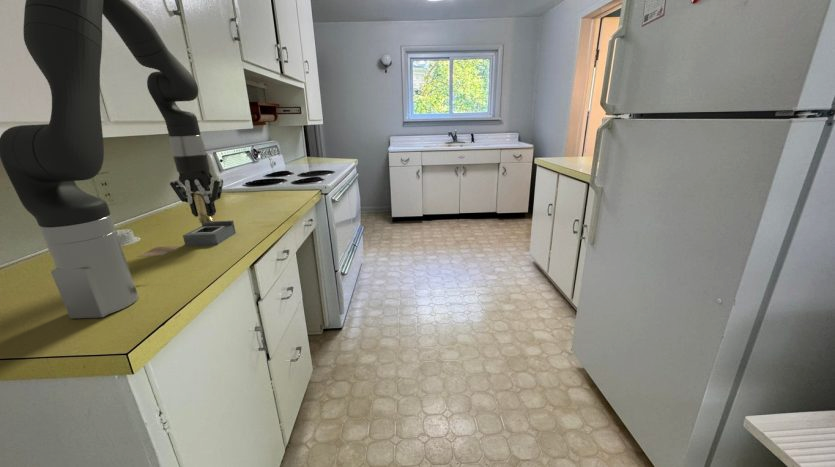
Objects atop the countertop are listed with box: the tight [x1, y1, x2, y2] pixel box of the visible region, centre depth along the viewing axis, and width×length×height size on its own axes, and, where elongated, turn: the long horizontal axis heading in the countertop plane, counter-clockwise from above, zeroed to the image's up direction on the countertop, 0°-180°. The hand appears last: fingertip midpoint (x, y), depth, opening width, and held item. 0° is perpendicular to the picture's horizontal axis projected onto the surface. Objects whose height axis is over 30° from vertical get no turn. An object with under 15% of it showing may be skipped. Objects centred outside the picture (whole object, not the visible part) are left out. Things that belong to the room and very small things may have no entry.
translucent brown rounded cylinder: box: [193, 192, 214, 224], centre depth 95 cm, size 3×3×8 cm
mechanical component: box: [116, 228, 141, 247], centre depth 98 cm, size 10×4×10 cm
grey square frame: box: [182, 220, 237, 247], centre depth 98 cm, size 10×9×5 cm
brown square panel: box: [137, 245, 182, 258], centre depth 91 cm, size 7×7×1 cm
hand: (205, 215), depth 96 cm, fingers closed on translucent brown rounded cylinder, 3 cm apart
